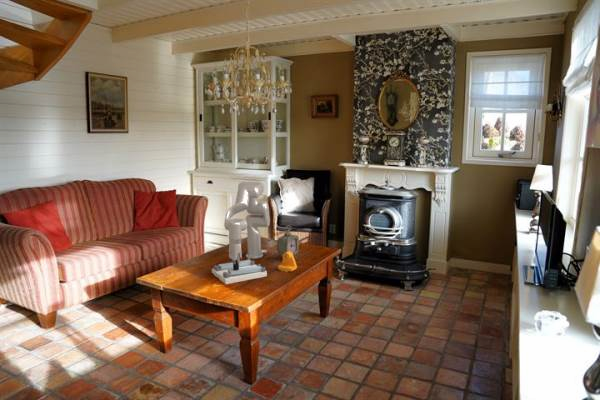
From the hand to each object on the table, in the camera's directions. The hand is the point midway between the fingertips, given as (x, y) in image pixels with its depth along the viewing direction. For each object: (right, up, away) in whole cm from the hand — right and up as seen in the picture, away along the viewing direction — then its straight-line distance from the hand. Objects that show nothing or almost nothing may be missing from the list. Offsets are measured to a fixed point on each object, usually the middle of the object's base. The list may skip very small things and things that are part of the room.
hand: (236, 269), depth 283 cm
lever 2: (+5, -2, +4) cm, 7 cm away
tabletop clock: (+31, +1, +43) cm, 53 cm away
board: (0, -5, +11) cm, 12 cm away
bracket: (+31, -3, +20) cm, 37 cm away
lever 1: (-3, 0, +18) cm, 18 cm away
